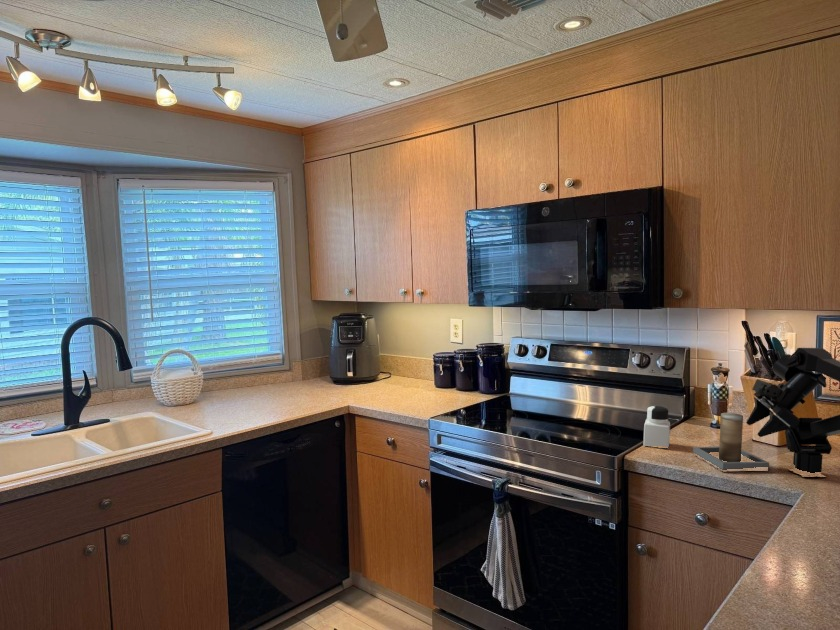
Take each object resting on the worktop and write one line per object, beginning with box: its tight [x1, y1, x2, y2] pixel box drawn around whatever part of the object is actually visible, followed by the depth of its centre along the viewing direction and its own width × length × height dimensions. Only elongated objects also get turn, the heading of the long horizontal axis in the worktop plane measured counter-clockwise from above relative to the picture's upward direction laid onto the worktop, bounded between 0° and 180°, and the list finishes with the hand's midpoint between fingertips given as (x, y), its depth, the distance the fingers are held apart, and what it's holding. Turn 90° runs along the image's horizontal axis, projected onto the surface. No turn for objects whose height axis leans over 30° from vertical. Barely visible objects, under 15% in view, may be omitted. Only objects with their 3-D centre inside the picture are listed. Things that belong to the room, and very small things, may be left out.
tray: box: [692, 446, 770, 470], centre depth 168 cm, size 15×13×2 cm
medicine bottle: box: [642, 405, 671, 448], centre depth 184 cm, size 7×7×12 cm
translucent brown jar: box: [718, 412, 744, 462], centre depth 167 cm, size 6×6×13 cm
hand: (753, 429), depth 165 cm, fingers open, 9 cm apart
